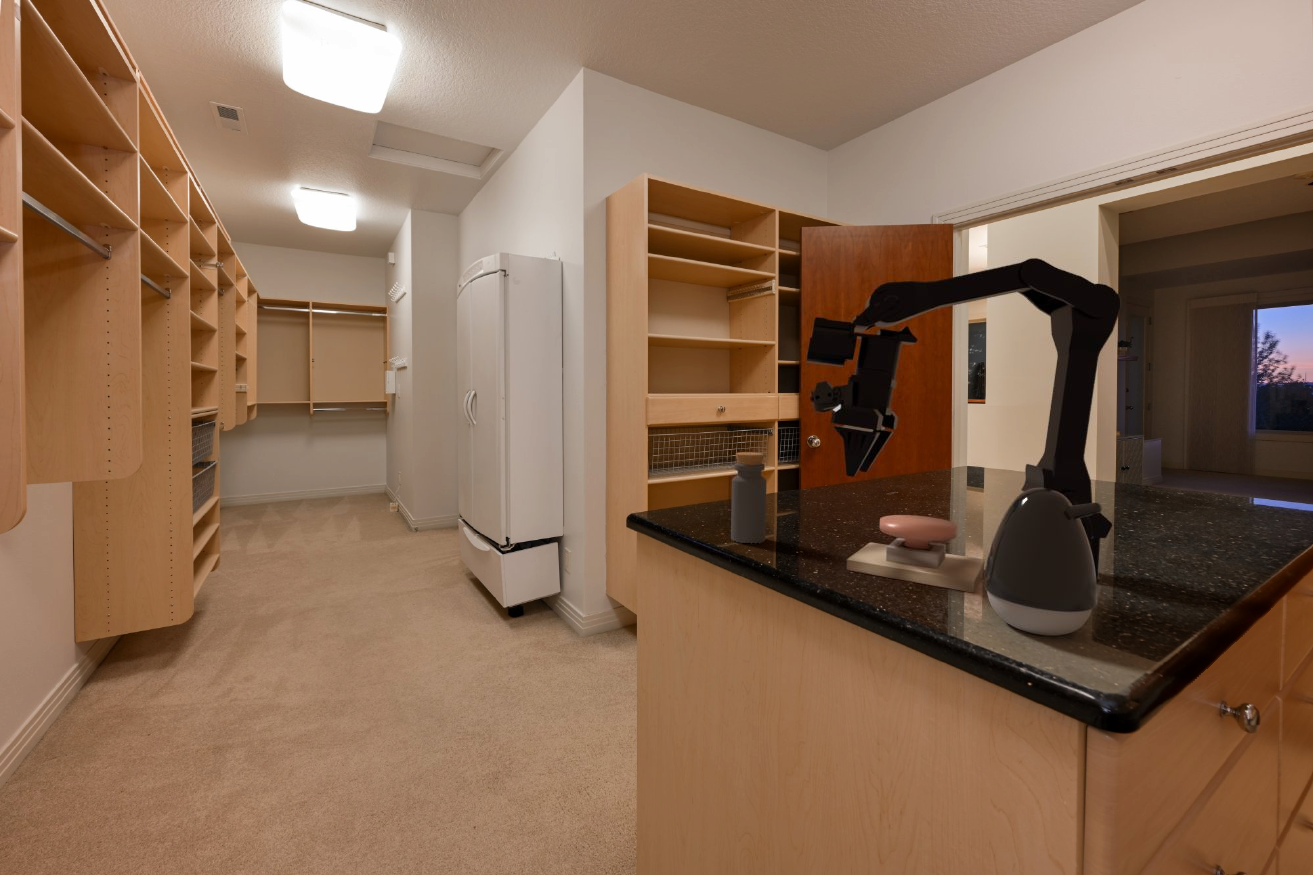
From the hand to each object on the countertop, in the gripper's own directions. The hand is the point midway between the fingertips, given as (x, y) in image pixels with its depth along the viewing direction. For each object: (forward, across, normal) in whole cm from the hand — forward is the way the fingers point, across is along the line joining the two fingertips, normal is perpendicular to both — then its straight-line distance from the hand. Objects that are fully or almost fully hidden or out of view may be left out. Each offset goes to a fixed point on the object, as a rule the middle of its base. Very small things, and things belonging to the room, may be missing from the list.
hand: (856, 474), depth 87 cm
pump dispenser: (+11, +16, +24) cm, 31 cm away
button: (+8, +1, +10) cm, 13 cm away
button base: (+12, +1, +10) cm, 16 cm away
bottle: (+16, -3, -16) cm, 23 cm away
